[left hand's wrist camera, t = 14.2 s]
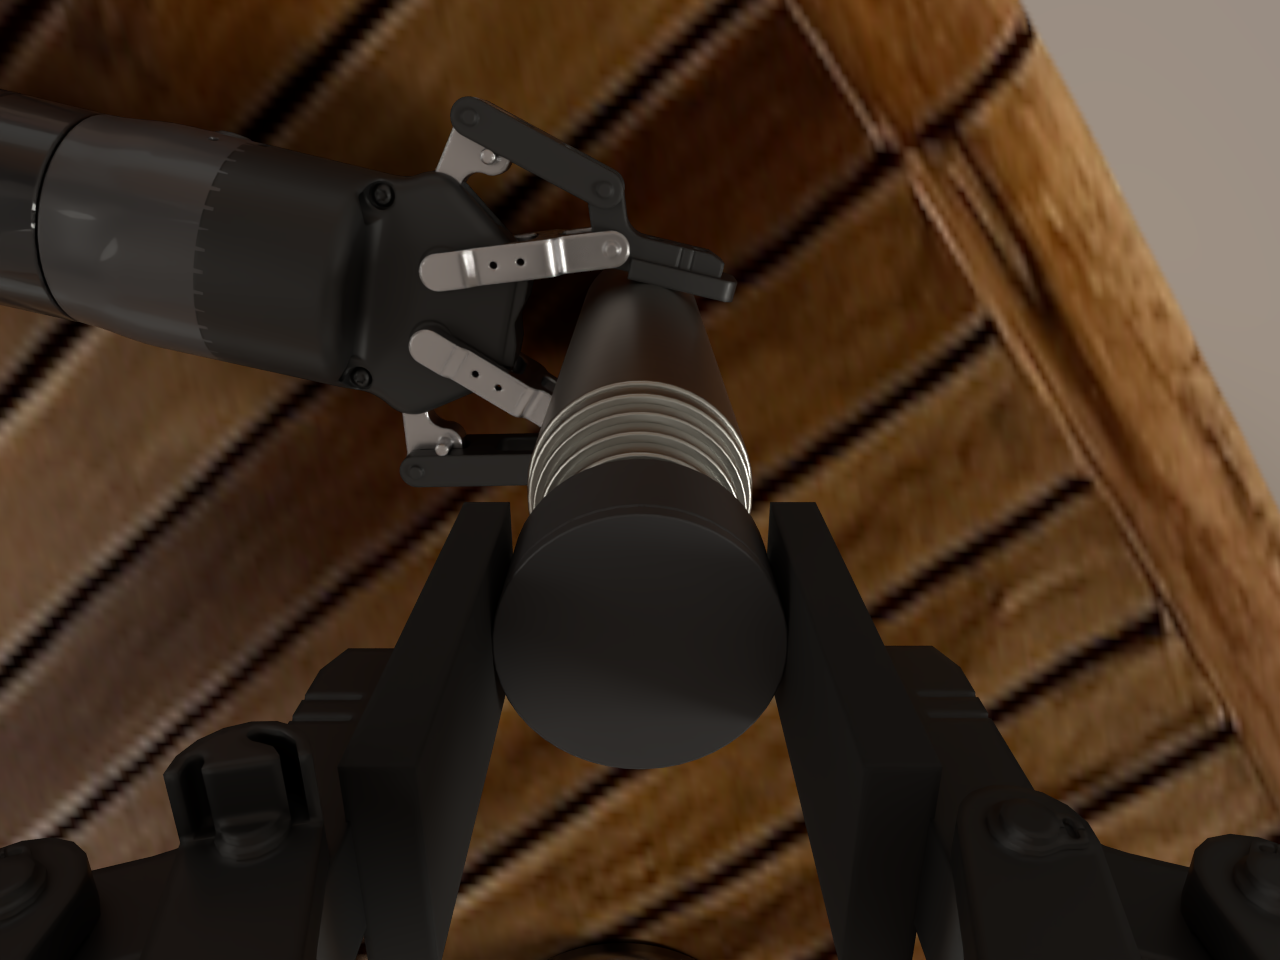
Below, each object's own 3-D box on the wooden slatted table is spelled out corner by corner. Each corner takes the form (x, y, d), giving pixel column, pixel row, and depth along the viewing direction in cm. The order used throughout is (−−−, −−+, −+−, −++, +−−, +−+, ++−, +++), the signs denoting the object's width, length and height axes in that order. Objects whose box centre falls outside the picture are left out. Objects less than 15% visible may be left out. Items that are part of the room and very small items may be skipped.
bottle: (718, 297, 36) (863, 590, 13) (656, 390, 38) (683, 806, 14) (622, 233, 36) (587, 423, 12) (562, 331, 37) (425, 672, 13)
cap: (584, 411, 14) (574, 461, 12) (816, 529, 14) (846, 597, 12) (471, 620, 15) (443, 700, 13) (687, 718, 16) (695, 809, 14)
